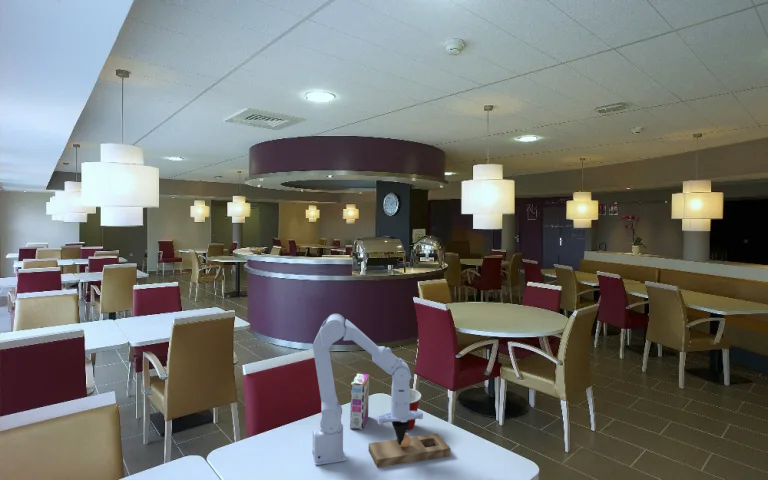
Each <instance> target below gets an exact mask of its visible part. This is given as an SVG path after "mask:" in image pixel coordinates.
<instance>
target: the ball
mask: <svg viewBox="0 0 768 480" xmlns="http://www.w3.org/2000/svg"><path fill="white" fill-rule="evenodd" d="M410 443H411V438H410V435H409V434H407V433H405V435H404V438H403V441H402V442H401V445H400V446H402V447H408V446H409V445H410Z"/></svg>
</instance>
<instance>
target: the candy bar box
mask: <svg viewBox="0 0 768 480" xmlns="http://www.w3.org/2000/svg"><path fill="white" fill-rule="evenodd" d="M369 389H370V374H368V373H356V375H355V377H354V378H353V379H352V381H351V383H350V418H349V419H350V422H349V423H350V426H349V428H350V429H351V430H361V431H362V430H364V427H365V424H366V422H367V420H368V418H369V396H370V395H369Z"/></svg>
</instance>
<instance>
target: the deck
mask: <svg viewBox="0 0 768 480" xmlns="http://www.w3.org/2000/svg"><path fill="white" fill-rule="evenodd" d="M410 438H411V443H410V445H409V446H408V447H402V446H400V445H399V444H398V442H397V438H396V439H388V440H382V441H381V440H380V441H376V442H368V452H369V455H370V457H371V458H372V461H373V463H374V464H375V466H376V468H378V469H379V468H385V467H391V466H395V465H403V464H409V463H414V462H415V463H416V462H421V461H422V462H423V461H427V460H434V459H440V458H445V457H450V456H451V447H450V445H448V444H447V443H446V441H445V440H444V439H443V438H442V437H441V435H440V434H439V433H431V434H423V435H415V436H411V437H410Z"/></svg>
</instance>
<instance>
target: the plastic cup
mask: <svg viewBox="0 0 768 480" xmlns="http://www.w3.org/2000/svg"><path fill="white" fill-rule="evenodd" d="M421 398H422V394H421V392H419V390H416V389H414V388H410V405H409V411H419V410H418V409H419V404H420V400H421ZM416 420H417V419H412V420H408V422H409V427H408V429H407V431H412V430H414V428H415V425H416Z"/></svg>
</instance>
